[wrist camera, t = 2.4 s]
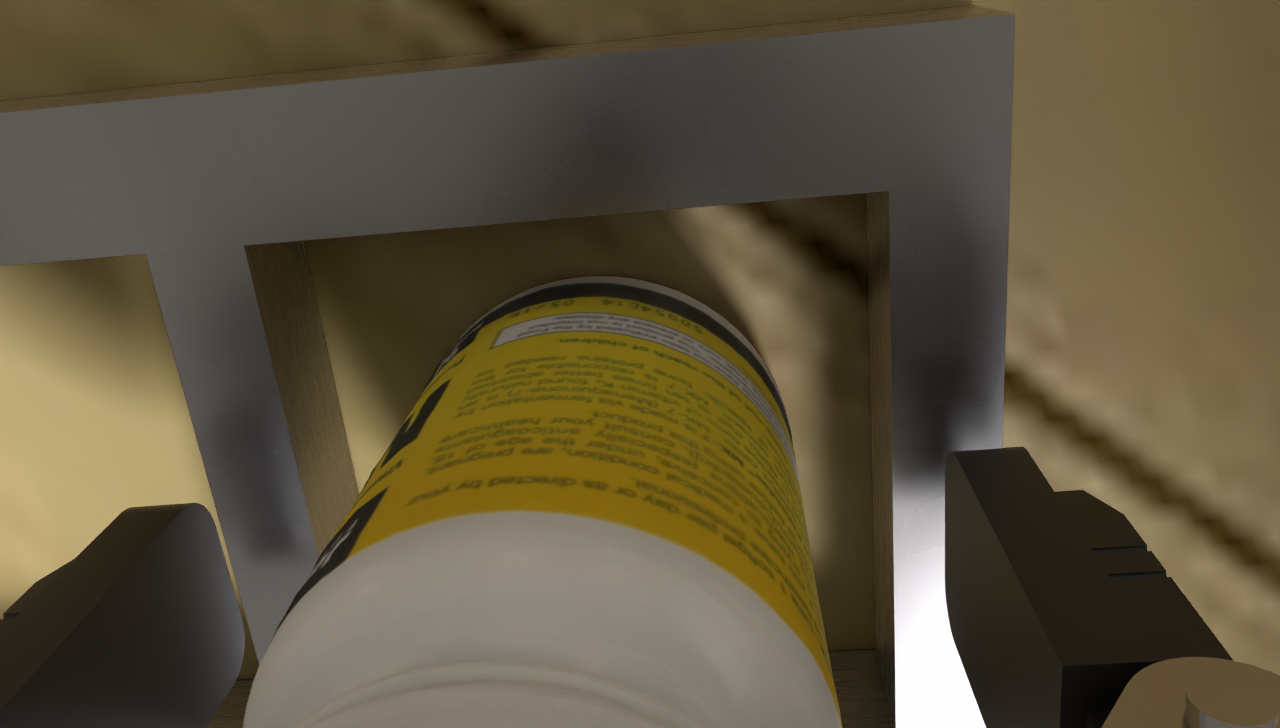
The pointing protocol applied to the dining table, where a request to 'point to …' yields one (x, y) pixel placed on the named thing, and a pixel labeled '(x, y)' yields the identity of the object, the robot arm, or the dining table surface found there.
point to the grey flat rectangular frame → (544, 190)
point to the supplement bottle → (570, 538)
